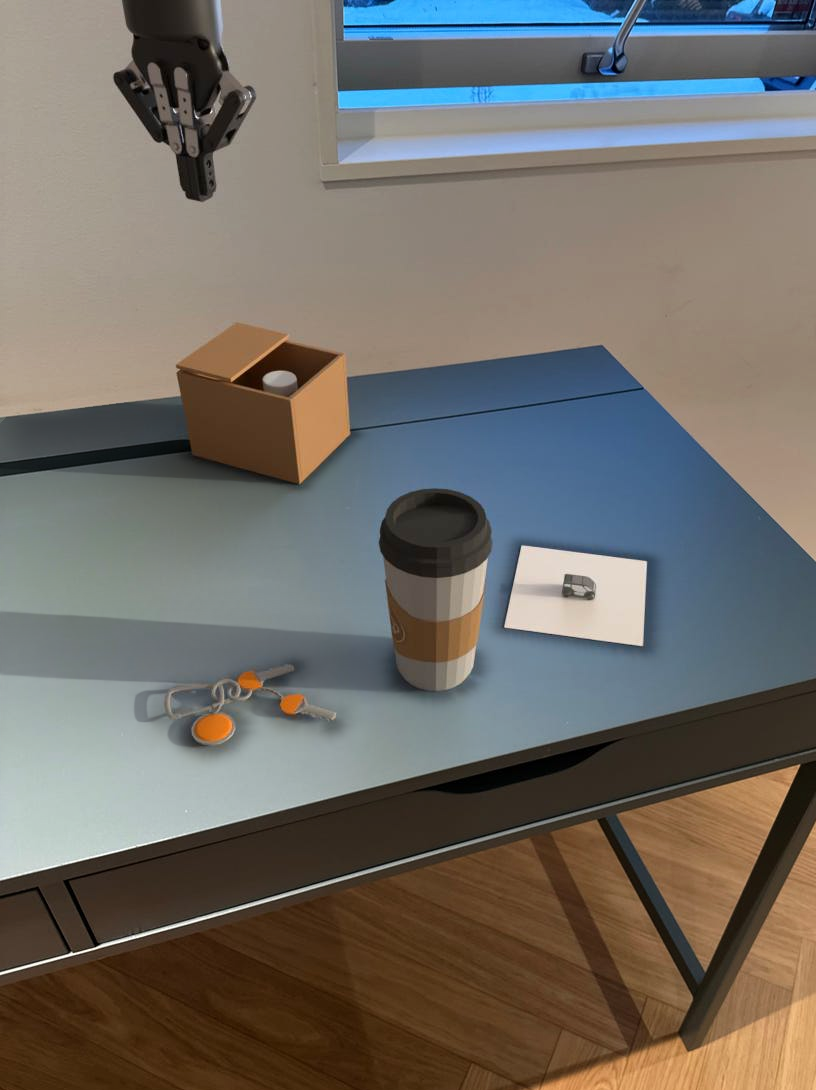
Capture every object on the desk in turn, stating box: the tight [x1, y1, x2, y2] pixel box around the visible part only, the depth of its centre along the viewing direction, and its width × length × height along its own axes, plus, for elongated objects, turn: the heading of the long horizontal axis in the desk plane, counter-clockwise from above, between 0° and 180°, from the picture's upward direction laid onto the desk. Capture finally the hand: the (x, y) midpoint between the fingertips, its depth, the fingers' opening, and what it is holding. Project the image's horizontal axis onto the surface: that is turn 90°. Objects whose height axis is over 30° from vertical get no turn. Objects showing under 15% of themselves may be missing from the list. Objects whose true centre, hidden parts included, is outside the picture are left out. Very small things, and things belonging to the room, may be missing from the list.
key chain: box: [163, 663, 337, 746], centre depth 73 cm, size 13×7×1 cm, turn 104°
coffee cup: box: [378, 487, 493, 692], centre depth 72 cm, size 8×8×15 cm
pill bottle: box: [263, 371, 298, 398], centre depth 98 cm, size 4×4×8 cm
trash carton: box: [175, 339, 351, 485], centre depth 98 cm, size 13×11×10 cm
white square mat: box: [503, 544, 648, 647], centre depth 84 cm, size 12×12×2 cm
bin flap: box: [175, 322, 290, 382], centre depth 95 cm, size 6×11×1 cm, turn 158°
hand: (199, 198), depth 84 cm, fingers closed
